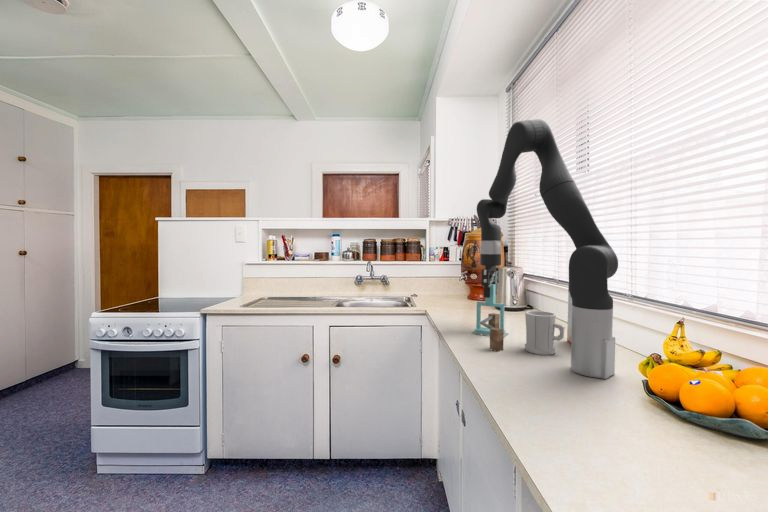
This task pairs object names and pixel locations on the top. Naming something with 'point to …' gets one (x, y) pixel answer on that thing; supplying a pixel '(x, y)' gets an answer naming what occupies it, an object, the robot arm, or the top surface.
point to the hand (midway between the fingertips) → (490, 296)
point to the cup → (541, 332)
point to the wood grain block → (496, 333)
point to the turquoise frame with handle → (491, 303)
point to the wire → (486, 321)
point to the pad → (489, 335)
